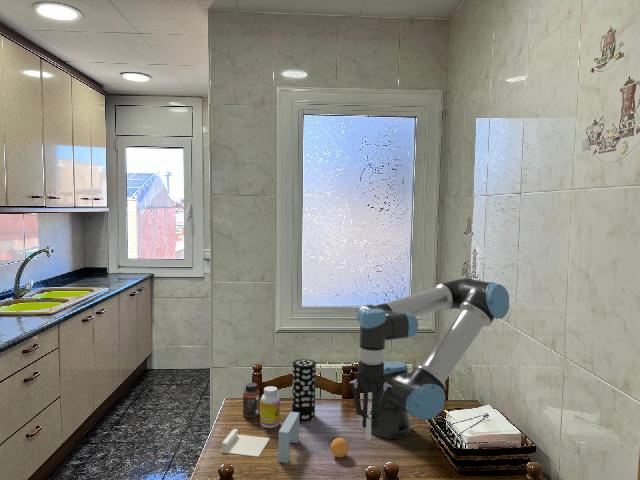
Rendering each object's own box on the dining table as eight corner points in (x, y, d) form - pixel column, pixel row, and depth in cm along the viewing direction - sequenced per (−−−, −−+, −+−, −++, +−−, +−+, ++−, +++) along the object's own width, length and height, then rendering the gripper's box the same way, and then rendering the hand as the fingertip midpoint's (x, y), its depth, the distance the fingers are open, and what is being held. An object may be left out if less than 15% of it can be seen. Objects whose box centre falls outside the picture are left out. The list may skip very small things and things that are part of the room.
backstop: (237, 436, 156) (237, 429, 156) (226, 451, 146) (226, 443, 146) (233, 436, 157) (233, 428, 156) (221, 450, 147) (221, 442, 147)
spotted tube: (319, 415, 174) (320, 362, 173) (306, 423, 167) (307, 368, 166) (300, 410, 178) (301, 357, 177) (287, 417, 171) (288, 363, 170)
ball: (349, 452, 147) (349, 435, 147) (347, 461, 142) (347, 444, 142) (332, 450, 148) (332, 433, 148) (329, 459, 143) (329, 442, 143)
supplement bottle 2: (276, 429, 162) (276, 393, 161) (257, 427, 163) (258, 391, 162) (281, 421, 168) (282, 386, 168) (263, 419, 170) (264, 384, 169)
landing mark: (269, 438, 155) (269, 438, 155) (258, 457, 144) (258, 456, 144) (235, 434, 158) (235, 434, 157) (221, 452, 146) (221, 451, 146)
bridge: (298, 440, 155) (299, 412, 154) (287, 462, 141) (288, 432, 140) (290, 439, 155) (290, 411, 155) (278, 461, 141) (278, 431, 141)
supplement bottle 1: (261, 416, 172) (262, 385, 172) (246, 419, 169) (247, 388, 168) (255, 410, 177) (255, 380, 177) (240, 413, 174) (240, 383, 173)
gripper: (393, 359, 144) (390, 434, 145) (351, 355, 146) (348, 430, 148) (393, 367, 137) (389, 446, 138) (348, 362, 139) (345, 441, 140)
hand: (368, 437), depth 143 cm, fingers closed
